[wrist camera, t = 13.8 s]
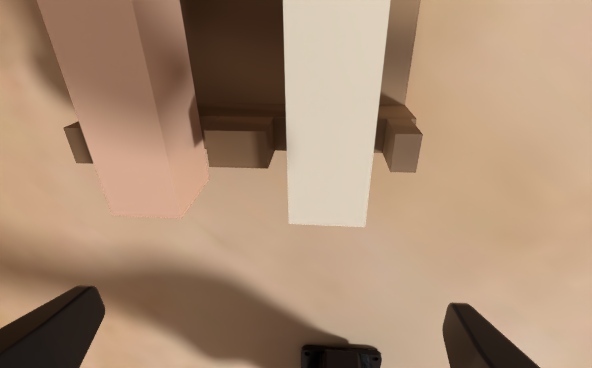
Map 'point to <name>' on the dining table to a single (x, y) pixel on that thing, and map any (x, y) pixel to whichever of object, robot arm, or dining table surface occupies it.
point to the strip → (332, 106)
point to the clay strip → (132, 100)
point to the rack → (274, 84)
